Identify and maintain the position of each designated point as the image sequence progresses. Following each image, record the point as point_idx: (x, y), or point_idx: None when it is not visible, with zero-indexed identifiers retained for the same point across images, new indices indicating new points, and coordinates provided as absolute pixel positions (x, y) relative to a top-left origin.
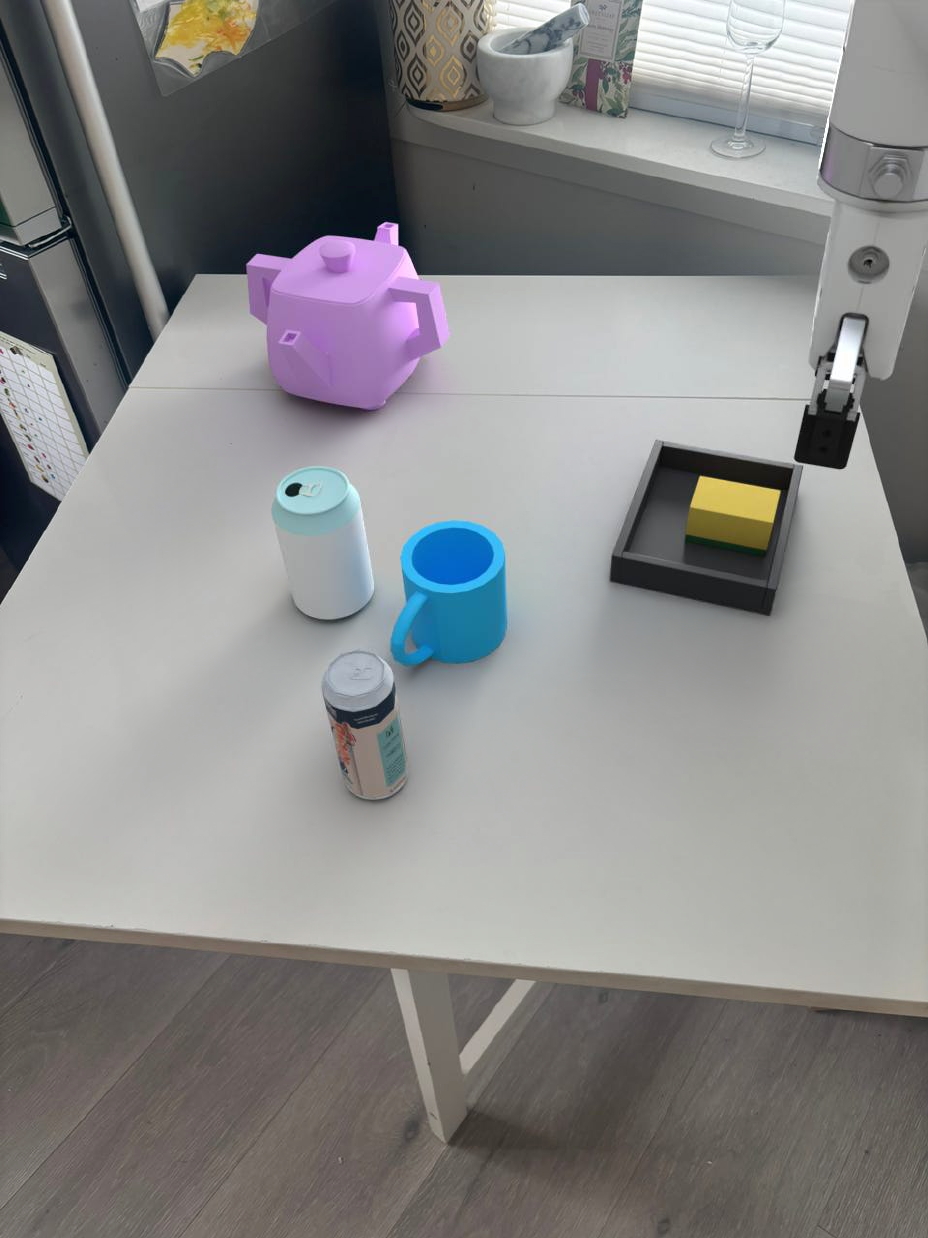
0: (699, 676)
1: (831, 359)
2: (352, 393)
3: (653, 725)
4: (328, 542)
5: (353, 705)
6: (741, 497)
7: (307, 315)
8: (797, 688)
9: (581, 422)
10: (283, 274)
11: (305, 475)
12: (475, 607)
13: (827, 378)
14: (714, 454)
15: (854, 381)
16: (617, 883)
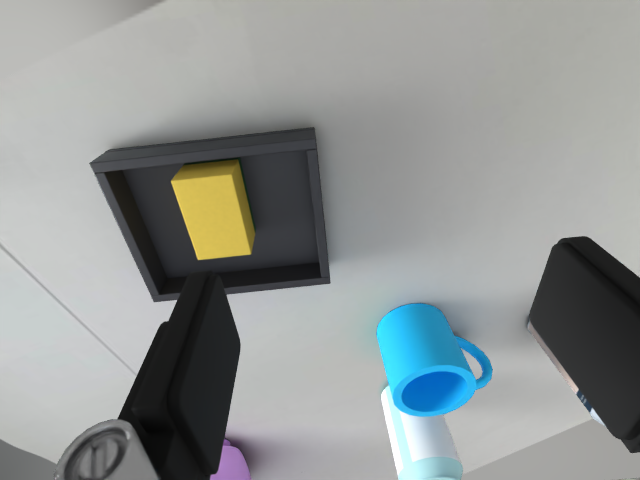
0: (412, 166)
1: (226, 375)
2: (244, 468)
3: (475, 184)
4: (454, 451)
5: None
6: (208, 215)
7: None
8: (402, 74)
9: (148, 342)
10: None
11: None
12: (458, 352)
13: (234, 330)
14: (139, 251)
15: (220, 287)
16: (630, 160)
